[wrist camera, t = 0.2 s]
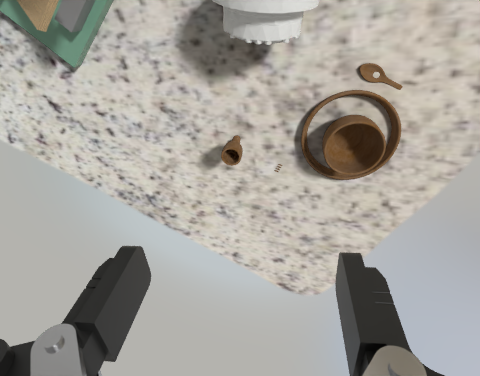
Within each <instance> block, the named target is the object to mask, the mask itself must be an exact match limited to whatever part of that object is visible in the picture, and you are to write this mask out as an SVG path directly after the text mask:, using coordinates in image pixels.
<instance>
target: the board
mask: <svg viewBox="0 0 480 376" xmlns="http://www.w3.org/2000/svg"><path fill="white" fill-rule="evenodd" d="M112 2H113V0H59V1H58V4H57V6H56V9H55V11H54V14H53V16H52V19H51V21H50V23H49V26H48V28H47V31H46V32H44V31H40V30H37V29H36V27H35V26H34V24H33V23H32V21H31V20H30V19H29V17H28V16H27V14H26V13H25V11H24V10H23V9H22V7H21V6H20V4H19V3H18V1H17V0H0V11H1V12H2V13H4V14H5V15H6V16H8V17H9V18H10V19H12V20H13V21H14V22H15V23H17V24H18V25H19V26H21V27H22V28H23V29H25V30H26V31H27V32H28V33H30V34H31V35H32V36H34V37H35V38H36V39H38V40H39V41H40V42H41V43H43V44H44V45H45V46H47V47H48V48H49V49H51V50H52V51H53V52H54V53H56V54H57V55H58V56H60V57H61V58H62V59H64V60H65V61H66V62H67V63H69V64H70V65H71V66H73V67H74V68H75V67H77V66H80V65H81V64H82V62H83V60H84V58H85V56H86V54H87V52H88V50H89V48H90V46H91V44H92V42H93V40H94V38H95V36H96V34H97V32H98V30H99V28H100V26H101V24H102V22H103V20H104V18H105V16H106V14H107V12H108V10H109V8H110V6H111V4H112Z"/></svg>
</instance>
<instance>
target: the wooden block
mask: <svg viewBox="0 0 480 376" xmlns="http://www.w3.org/2000/svg"><path fill="white" fill-rule="evenodd" d="M17 1H18V3H19V4H20V6H21V7H22V9H23V10H24V11H25V13H26V14H27V16H28V17H29V19H30V20H31V21H32V23H33V24H34V26H35V27H36V29H37V30H40V31H44V32H46V31H47V28H48V26H49V23H50V21H51V19H52V16H53V14H54V11H55V9H56V6H57V4H58V1H59V0H17Z"/></svg>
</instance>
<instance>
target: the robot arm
mask: <svg viewBox="0 0 480 376" xmlns="http://www.w3.org/2000/svg"><path fill="white" fill-rule="evenodd" d="M150 281H151V272H150V268H149V266H148V262H147V259H146V257H145V253H144V250H143V248H142V247H141V246H122V247H121V248H120V249H119V251H118V252H117V254H116V256H115V257H114V258H109V259H108V260H107V261H105V262H104V263H103V264H102V265H101V266H100V267H99V268H98V269H97V271H96V272H95V274H94V275H93V277H92V280H90V281H89V283H88V284H87V286H86V289H84V290H83V292H82V293H81V295H80V297H79V298H78V300H77V301H76V303H75V304H74V306H73V307H72V309H71V310H70V312H69V313H68V315H67V316H66V318H65V319H64V321H63V322H62V323H61V324H59V325H56V326H53V327H51V328H49V329H47V330H46V331H45V332H43V333H42V334H41V335H40V336H39V337H38V338H37V339H36V341H32V342H28V343H24V344H20V345H16V346H12V347H9V345H8V344H7V343H6V342H5V341H4V340H2V339H0V376H102V375H101V371H100V368H101V366H102V364H103V362H104V361H111V362H115V361H116V359H117V356H118V354H119V352H120V350H121V347H122V345H123V343H124V341H125V339H126V336H127V334H128V332H129V330H130V328H131V325H132V323H133V321H134V319H135V316H136V314H137V312H138V310H139V308H140V305H141V303H142V301H143V298H144V296H145V294H146V292H147V290H148V287H149V285H150ZM336 296H337V302H338V308H339V314H340V320H341V326H342V331H343V338H344V343H345V349H346V355H347V361H348V367H349V373H350V376H444V375H442V374H439V373H437V372H435V371H433V370H431V369H429V368H428V367H426V366H425V365H424V364H422V363H421V362H420V361H419V359H418V358H417V357H416V356H415V355H414V354H413V353H412V351H411V349H410V348H409V345H408V343H407V340H406V337H405V334H404V331H403V328H402V325H401V322H400V319H399V316H398V314H397V311H396V308H395V305H394V302H393V299H392V296H391V294H390V290H389V288H388V285H387V282H386V279H385V278H384V277H383V275H382V274H381V273H380V272H379V271H378V270H377V269H376V268H370V267H369V268H368V267H365V266H364V262H363V259H362V256H361V254H360V253H339V259H338V266H337V274H336Z"/></svg>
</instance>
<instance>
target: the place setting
mask: <svg viewBox="0 0 480 376" xmlns="http://www.w3.org/2000/svg"><path fill="white" fill-rule="evenodd" d="M359 70H360V73H361V75H362V76H363V78H364V79H365V80H367V81H369V82H384V83H387V84H389V85H391V86H393V87H395V88H397V89H399V90H400V89H401V88H402V86H401V85H400V84H398V83H396V82H394V81H392V80H390V79H388V78H387V77H386V75H385V73H384V71H383V69H382V68H381V67H380V66H378V65H376V64H371V63H369V64H363V65H361V67H360V68H359ZM374 72H379V73H380V76H379V78H374V77H373V73H374ZM348 95H361V96H366V97H369V98H372V99H374V100H376V101H377V102H379V103H380V104H381V105H382V106H383V107H384V108H385V109H386V111H387V112H388V114H389V117H390V120H391V126H392V130H391V136H390V140H389V142H388V144H387V146H386V141H385V137H384V135H383V133H382V132H381V130H380V129H379V127H378V126H377V125H376V124H375V123H374V122H373V121H372V120H371V119H369V118H367V117H365V116H361V115H348V116H344V117H341V118H339V119H338V120H336V121H335V122H333V123H332V124H331V125H330V126H329V127H328V129H327V130H326V132H325V134H324V137H323V143H322V147H323V153H324V158H325V161H326V162H327V164H328V165H329V167H330V168H331V169H329V168H327V167H325V166H323V165H321V164H320V163H318V162H317V161H316V160H315V159H314V157H313V156H312V155H311V153H310V151H309V148H308V145H307V131H308V127H309V124H310V122H311V120H312V118H313V117H314V115H315V114H316V113H317V112H318V111H319V110H320V109H321V108H322V107H323V106H324V105H326V104H327V103H329V102H330V101H332V100H334V99H337V98H339V97H343V96H348ZM400 137H401V123H400V119H399V116H398V113H397V112H396V110H395V108H394V107H393V106H392V105H391V104H390V103H389V102H388V101H387V100H386V99H384V98H383V97H381V96H380V95H377V94H375V93H372V92H369V91H363V90H351V91H345V92H341V93H338V94H335V95H333V96H331V97H329V98H327V99H325V100H324V101H322V102H321V103H320V104H319V105H318V106H316V107H315V109H314V110H313V111H312V112H311V113H310V115H309V116H308V118H307V120H306V122H305V124H304V127H303V131H302V137H301V145H302V151H303V154H304V156H305V158H306V160H307V162H308V163H309V164H310V166H311V167H312V168H313V169H314V170H316V171H317V172H319V173H320V174H322V175H324V176H327V177H329V178H333V179H339V180H349V179H356V178H360V177H364V176H366V175H369V174H371V173H373V172H375V171H376V170H378V169H379V168H381V167H382V166H383V165H384V164H385V163H386V162H387V161H388V160H389V159H390V158H391V157H392V155H393V154H394V152H395V150H396V149H397V146H398V144H399V141H400ZM221 157H222V160H223V162H224V163H226V164H227V165H236V164H238V163H239V162H240V160H241V157H242V146H241V145H240V137H239V136H234V137H233V140H232V141H230V142H228V143H227V144H226V145H225V147H224V149H223V151H222V155H221ZM278 165H280V164H278ZM281 166H282V165H281ZM277 167H279V166H277ZM279 168H281V167H279ZM276 169H277V168H276ZM278 170H280V169H278ZM274 171H276V170H274ZM276 172H278V171H276Z"/></svg>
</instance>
